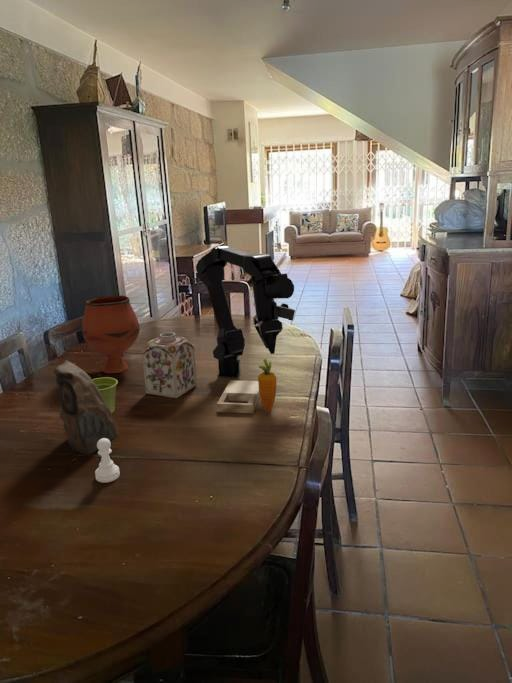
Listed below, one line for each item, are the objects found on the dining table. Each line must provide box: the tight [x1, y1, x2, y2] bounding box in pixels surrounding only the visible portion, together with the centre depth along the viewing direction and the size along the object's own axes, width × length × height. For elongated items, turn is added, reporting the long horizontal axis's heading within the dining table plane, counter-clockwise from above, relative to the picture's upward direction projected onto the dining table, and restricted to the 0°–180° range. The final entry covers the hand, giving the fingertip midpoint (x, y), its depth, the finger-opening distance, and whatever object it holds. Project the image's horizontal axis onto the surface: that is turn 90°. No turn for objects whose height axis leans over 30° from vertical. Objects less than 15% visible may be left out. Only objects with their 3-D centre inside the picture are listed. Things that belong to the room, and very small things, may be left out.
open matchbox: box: [216, 379, 260, 414], centre depth 147 cm, size 10×18×2 cm, turn 171°
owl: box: [53, 359, 120, 456], centre depth 122 cm, size 13×13×20 cm
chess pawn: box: [94, 438, 121, 484], centre depth 108 cm, size 5×5×9 cm
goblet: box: [81, 294, 141, 374], centre depth 173 cm, size 19×19×25 cm
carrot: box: [257, 358, 277, 413], centre depth 136 cm, size 5×5×15 cm
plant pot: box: [91, 376, 119, 415], centre depth 140 cm, size 9×9×9 cm
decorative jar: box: [141, 331, 198, 399], centre depth 154 cm, size 12×12×18 cm
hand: (270, 350), depth 149 cm, fingers open, 9 cm apart
